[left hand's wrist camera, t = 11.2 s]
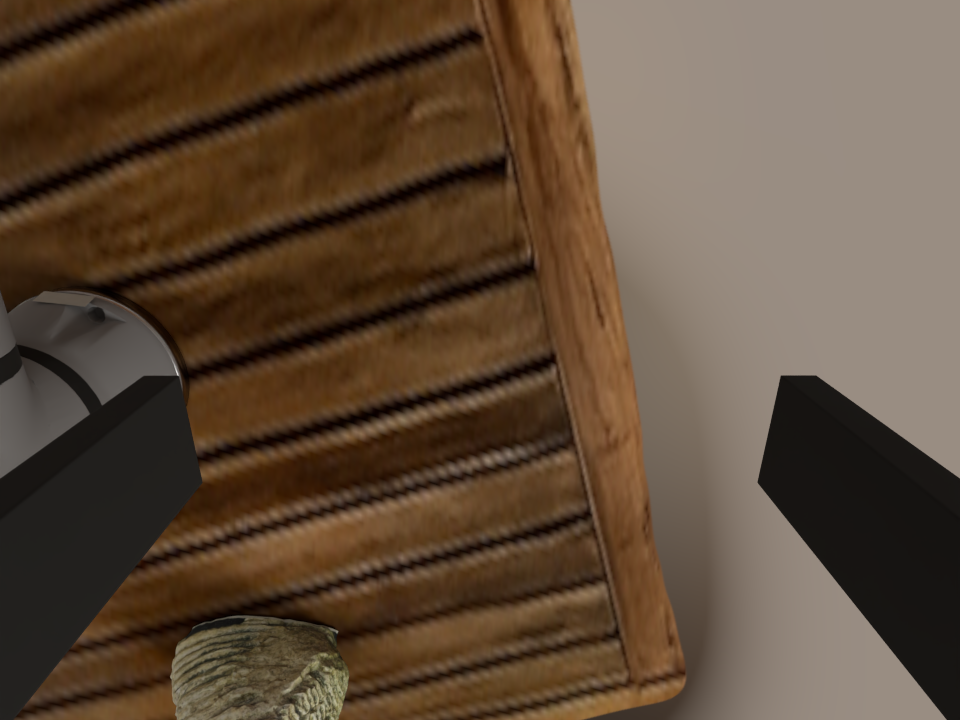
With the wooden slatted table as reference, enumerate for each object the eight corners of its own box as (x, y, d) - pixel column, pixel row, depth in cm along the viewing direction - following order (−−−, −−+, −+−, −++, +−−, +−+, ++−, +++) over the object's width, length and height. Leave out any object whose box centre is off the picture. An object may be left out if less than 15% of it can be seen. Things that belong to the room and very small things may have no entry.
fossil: (366, 658, 62) (332, 811, 48) (206, 680, 63) (129, 835, 49) (344, 597, 58) (301, 741, 44) (176, 621, 60) (84, 770, 46)
